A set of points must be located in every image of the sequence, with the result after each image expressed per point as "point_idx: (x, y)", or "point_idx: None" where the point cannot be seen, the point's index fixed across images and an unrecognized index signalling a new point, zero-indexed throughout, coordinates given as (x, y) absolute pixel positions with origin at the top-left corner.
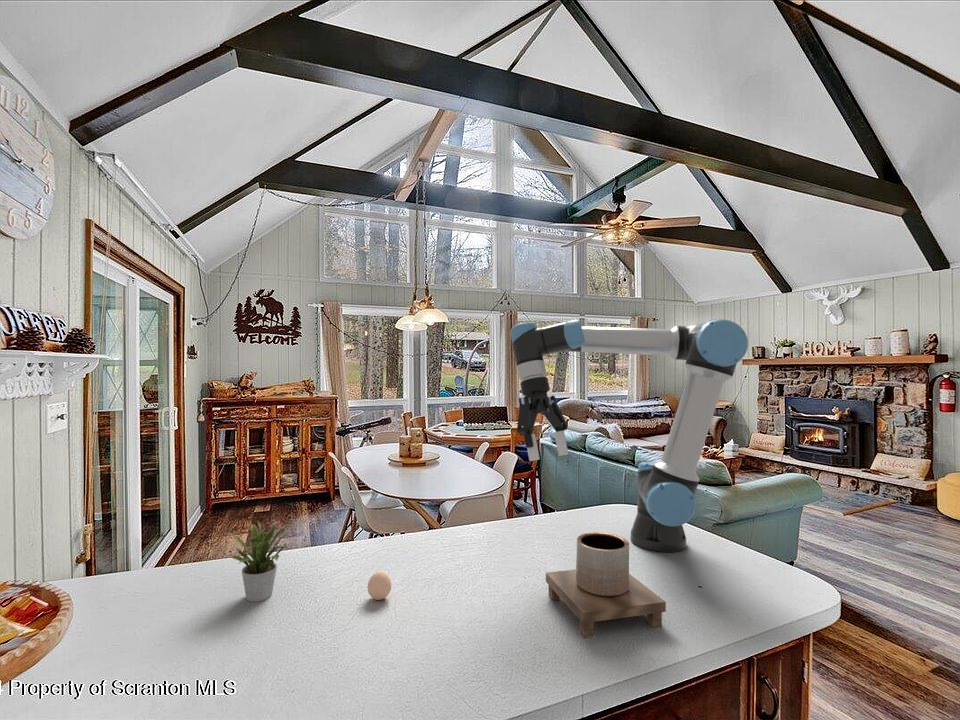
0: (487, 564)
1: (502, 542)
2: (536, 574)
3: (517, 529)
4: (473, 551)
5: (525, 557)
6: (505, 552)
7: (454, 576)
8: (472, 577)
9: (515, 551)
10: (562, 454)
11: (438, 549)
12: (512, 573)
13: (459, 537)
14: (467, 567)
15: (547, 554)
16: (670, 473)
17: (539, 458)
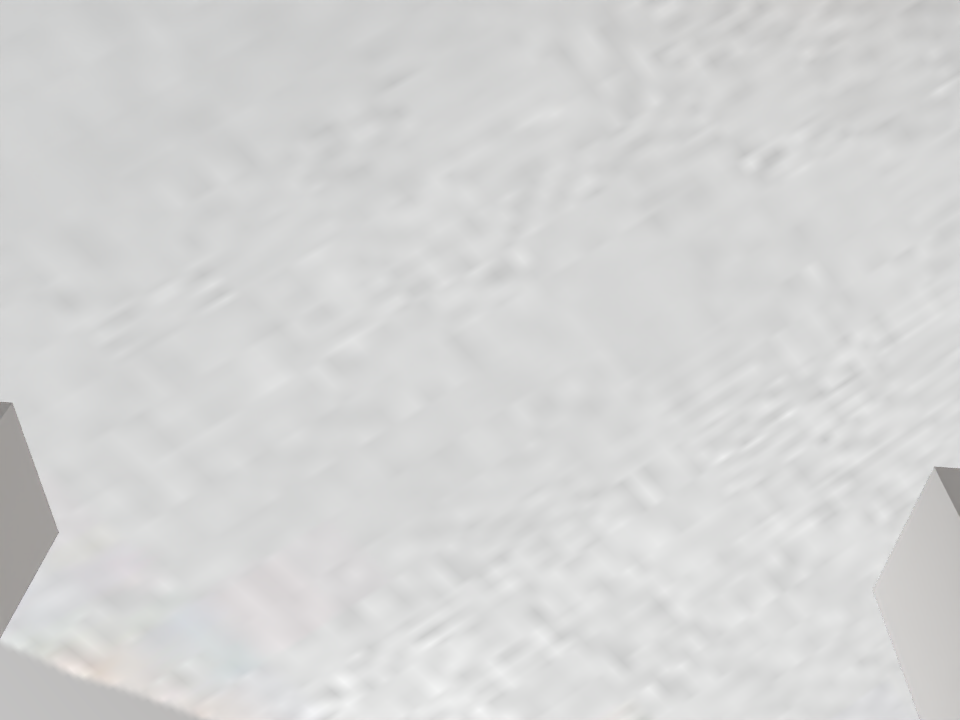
0: (738, 407)
1: (427, 517)
2: (698, 130)
3: (194, 565)
4: (636, 554)
5: (528, 306)
6: (539, 427)
7: (954, 442)
8: (919, 371)
9: (490, 394)
10: (29, 488)
11: (720, 685)
12: (763, 242)
13: (522, 708)
14: (828, 459)
15: (403, 230)
16: None
17: (944, 479)
